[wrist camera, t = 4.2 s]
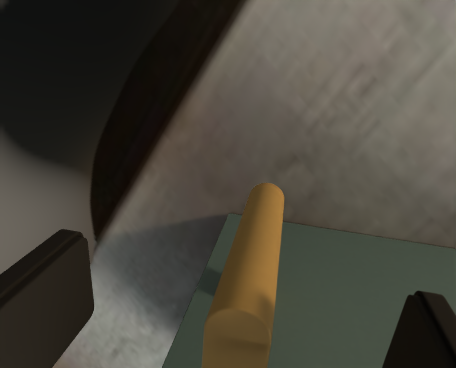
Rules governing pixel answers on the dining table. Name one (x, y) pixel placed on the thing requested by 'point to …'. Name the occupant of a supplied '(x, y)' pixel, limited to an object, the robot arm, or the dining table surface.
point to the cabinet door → (302, 293)
